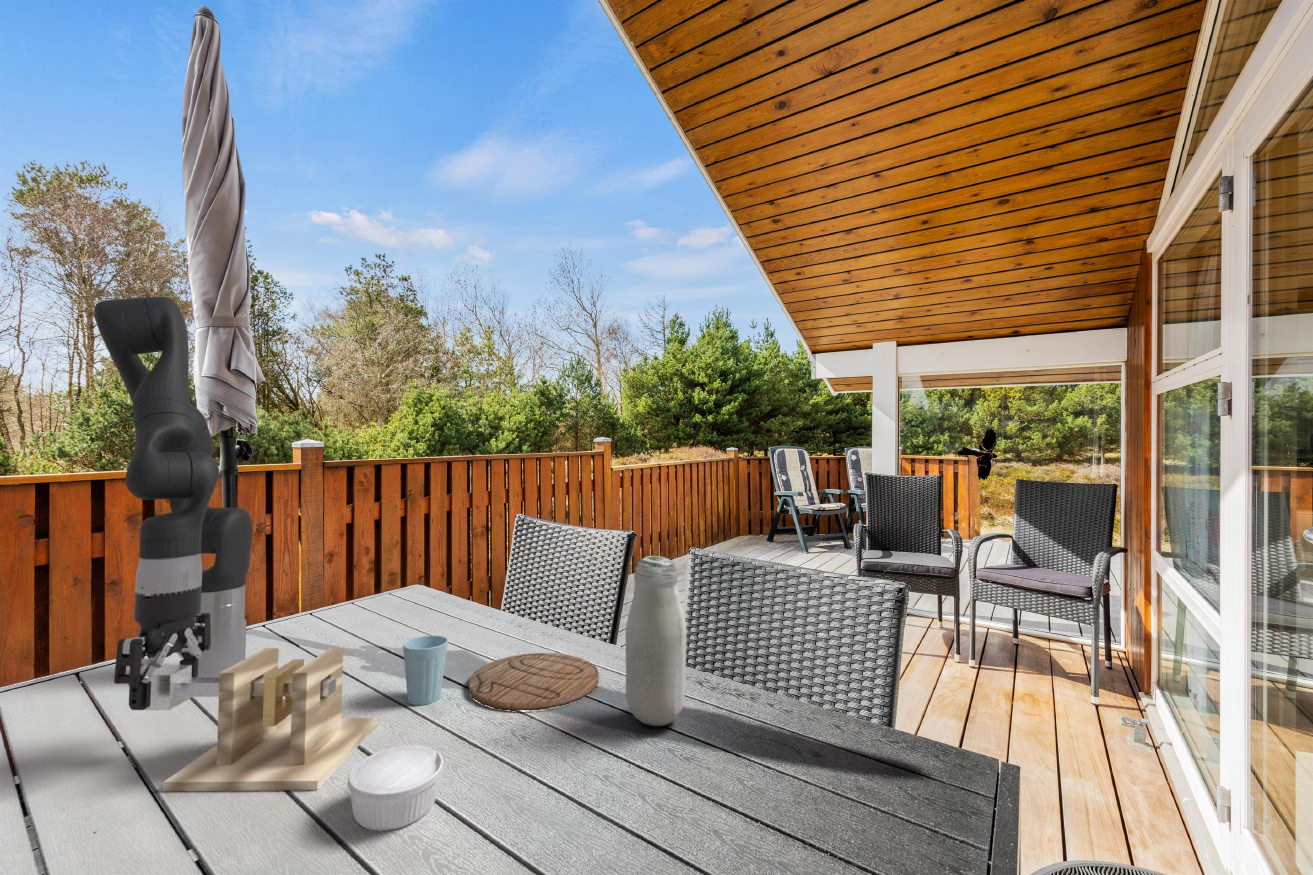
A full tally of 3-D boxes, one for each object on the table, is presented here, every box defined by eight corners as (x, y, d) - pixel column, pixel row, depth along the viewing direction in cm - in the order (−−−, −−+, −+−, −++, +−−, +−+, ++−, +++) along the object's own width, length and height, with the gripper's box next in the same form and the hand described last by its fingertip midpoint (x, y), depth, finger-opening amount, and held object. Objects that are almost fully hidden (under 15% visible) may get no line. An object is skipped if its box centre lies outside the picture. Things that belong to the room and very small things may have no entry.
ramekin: (434, 832, 68) (435, 787, 68) (332, 844, 66) (334, 797, 66) (448, 779, 79) (449, 740, 79) (361, 787, 77) (362, 748, 77)
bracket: (162, 791, 75) (166, 684, 75) (253, 725, 93) (256, 639, 93) (317, 789, 76) (320, 684, 76) (377, 725, 94) (380, 639, 94)
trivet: (555, 725, 96) (555, 713, 96) (439, 699, 105) (439, 688, 105) (619, 672, 119) (619, 663, 119) (519, 654, 128) (519, 646, 128)
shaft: (140, 710, 82) (141, 675, 82) (163, 698, 86) (164, 664, 86) (324, 709, 83) (325, 675, 83) (338, 697, 87) (339, 664, 87)
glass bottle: (692, 714, 99) (694, 554, 100) (669, 741, 90) (671, 564, 91) (641, 703, 104) (644, 549, 104) (614, 727, 94) (617, 558, 95)
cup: (448, 687, 109) (449, 633, 109) (445, 705, 102) (446, 646, 102) (405, 692, 107) (406, 636, 107) (399, 710, 99) (400, 650, 100)
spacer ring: (262, 726, 81) (264, 677, 81) (292, 704, 88) (293, 659, 88) (274, 726, 81) (275, 677, 81) (302, 704, 88) (304, 659, 88)
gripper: (181, 575, 91) (177, 676, 91) (98, 597, 77) (92, 718, 77) (229, 575, 92) (225, 676, 91) (155, 598, 77) (150, 718, 77)
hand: (165, 695), depth 84 cm, fingers open, 8 cm apart
